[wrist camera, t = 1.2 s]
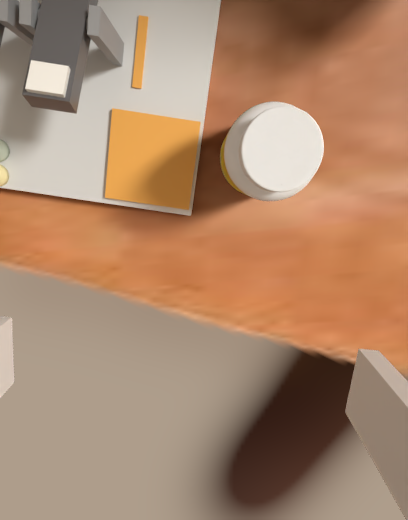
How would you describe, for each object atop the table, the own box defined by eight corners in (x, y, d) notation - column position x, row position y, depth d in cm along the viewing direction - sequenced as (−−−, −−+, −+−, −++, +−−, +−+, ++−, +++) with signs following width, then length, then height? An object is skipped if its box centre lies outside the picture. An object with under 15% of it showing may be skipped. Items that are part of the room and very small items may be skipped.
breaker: (60, -50, 24) (51, -77, 22) (109, -42, 24) (103, -68, 23) (28, 106, 23) (15, 90, 21) (79, 114, 23) (70, 99, 21)
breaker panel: (-7, -42, 28) (-84, -120, 20) (221, -5, 28) (227, -67, 21) (-9, 184, 32) (-75, 188, 24) (191, 214, 32) (187, 226, 25)
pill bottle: (264, 208, 32) (293, 227, 21) (205, 169, 31) (204, 167, 21) (307, 147, 31) (361, 133, 20) (246, 104, 30) (269, 66, 19)
